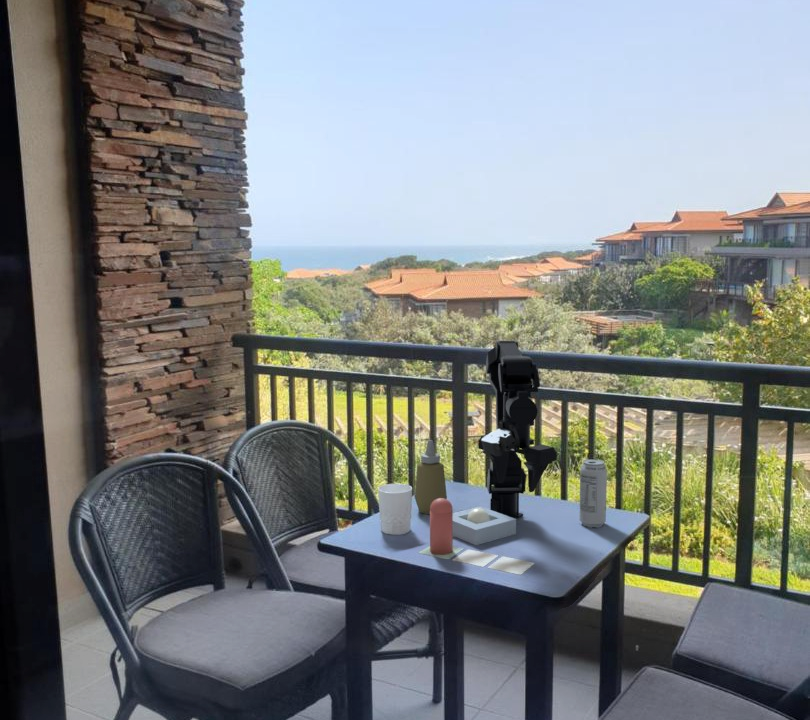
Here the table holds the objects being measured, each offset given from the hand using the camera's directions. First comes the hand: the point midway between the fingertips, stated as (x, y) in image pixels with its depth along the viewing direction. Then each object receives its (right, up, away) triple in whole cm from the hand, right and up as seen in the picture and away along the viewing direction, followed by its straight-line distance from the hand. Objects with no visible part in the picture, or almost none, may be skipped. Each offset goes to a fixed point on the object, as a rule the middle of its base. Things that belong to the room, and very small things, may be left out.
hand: (516, 487), depth 172 cm
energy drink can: (+20, -11, +15) cm, 27 cm away
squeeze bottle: (-18, -10, +26) cm, 33 cm away
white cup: (-26, -12, +12) cm, 31 cm away
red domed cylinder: (-16, -13, -3) cm, 21 cm away
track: (-9, -14, -7) cm, 18 cm away
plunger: (-7, -12, +8) cm, 16 cm away
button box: (-7, -12, +8) cm, 17 cm away
